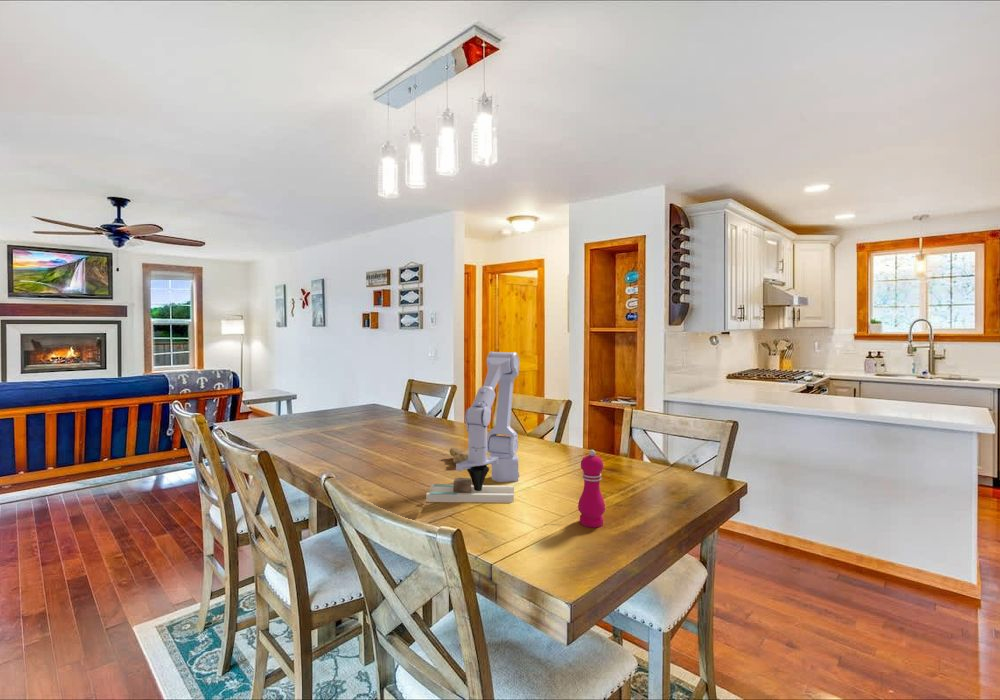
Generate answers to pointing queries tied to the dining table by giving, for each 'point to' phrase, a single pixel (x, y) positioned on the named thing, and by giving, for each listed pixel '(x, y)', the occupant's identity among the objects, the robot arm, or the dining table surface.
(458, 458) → the ginger root
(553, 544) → the dining table surface
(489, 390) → the robot arm
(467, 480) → the walnut block
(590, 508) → the pepper mill
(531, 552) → the dining table surface
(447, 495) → the chute
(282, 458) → the dining table surface
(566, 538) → the dining table surface
